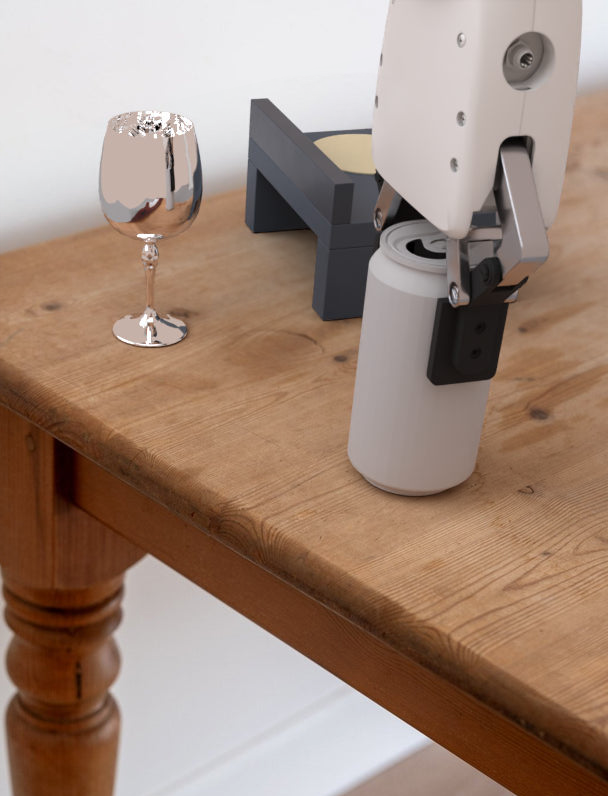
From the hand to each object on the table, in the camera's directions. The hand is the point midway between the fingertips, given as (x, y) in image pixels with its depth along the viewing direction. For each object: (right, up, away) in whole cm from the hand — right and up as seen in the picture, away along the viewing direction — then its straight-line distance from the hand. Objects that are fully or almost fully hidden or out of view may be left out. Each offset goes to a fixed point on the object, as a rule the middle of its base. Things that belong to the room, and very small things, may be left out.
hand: (428, 341), depth 61 cm
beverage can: (0, -6, +4) cm, 7 cm away
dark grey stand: (+1, +10, +25) cm, 27 cm away
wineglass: (-14, +4, +16) cm, 21 cm away
